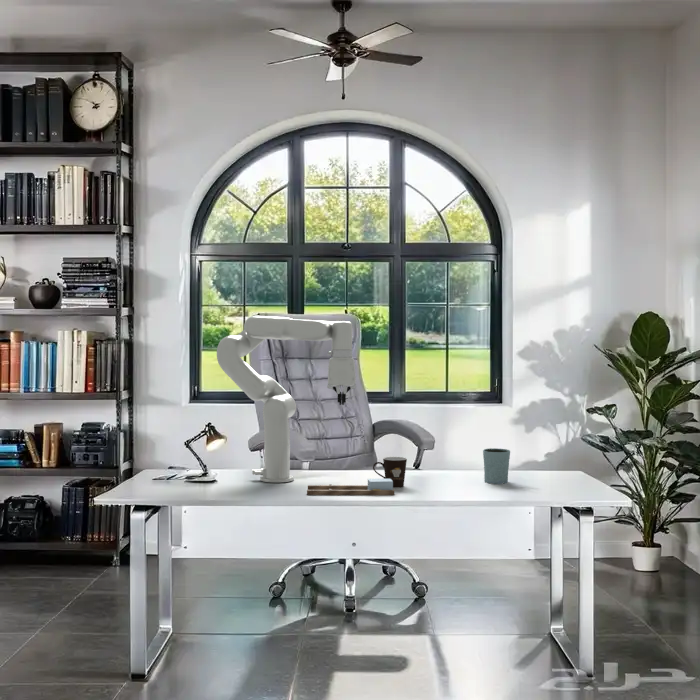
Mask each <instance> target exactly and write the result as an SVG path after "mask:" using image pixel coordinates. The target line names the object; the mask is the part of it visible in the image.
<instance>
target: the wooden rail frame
mask: <svg viewBox="0 0 700 700" xmlns="http://www.w3.org/2000/svg"><path fill="white" fill-rule="evenodd" d="M306 495H308V496H395V489H393V490H380V489H373V490H368V484H365V485H364V484H361V485H360V484H357V485H356V484H355V485H354V484H351V485H350V484H349V485H348V484H347V485H346V484H342V485H341V484H333V485H332V484H328V485H327V484H307V489H306Z"/></svg>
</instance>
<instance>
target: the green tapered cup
mask: <svg viewBox="0 0 700 700" xmlns="http://www.w3.org/2000/svg"><path fill="white" fill-rule="evenodd" d="M482 456H483V466H484V467H483V469H484V471H483V472H484V475H483V476H484V477H483V479H484V483H486V482H487V483H486V484H490V483H493V484H492V485H503V484H502V483H505V484H508V483H507V482H508V481H509V466H510V459H511V457H510V456H511V450H510V449H506V448H491V447H490V448H484V449H483V450H482Z"/></svg>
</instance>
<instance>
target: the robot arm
mask: <svg viewBox="0 0 700 700" xmlns="http://www.w3.org/2000/svg"><path fill="white" fill-rule="evenodd" d="M265 340H281V341H291V340H292V341H293V340H296V341H309V342H322V341H323V342H325V341H331V350H329V351H327V356H331V358H329V360H328V368H327V386H326V388H327V389H330V390H333V391H334V392H335V393H337V403H339V406H341V405H342V406H344V405H345V403H346V401H347V398H346V397H347V395H346V394H348V392H349V391H351V390H353V389H357V384H356V382H357V381H356V377H357V375H356V361H355V358H353V324H352V322H351V321H348V320H347V321H345V320H342V321H341V320H340V321H339V320H336V321H330V320H322V319H321V320H320V319H318V320H314V319H313V320H312V319H297V318H294V319H293V318H290V317H285V316H267V315H266V316H265V315H252V316H249V317H248V318H247V319H246V320H245V322H244V325H243V330H242V331H241V332H239V333H238V334H237V335H236V334H235V335H234V334H231V335H227V336H225V337H222V339H221V340H220V341H219V342H218V345H217V348H216V360H217V362H218V365H219V367H220V369H221V370H222V371H223V372H224V374H225V375H227V376H228V377H229V378H230V379H231V380H232V381H233V382H234V384H236V386H237V387H238V388H239V389H240V390H241V391H242V392H244V394H245V395H246V396H247V397H248V398H249V399H250V400H252V401H254V402H259V401H261V402H262V403H263V404H264V405H263V407H262V418H263V425H264V428H263V429H264V432H263V433H264V437H263V438H264V441H263V442H264V452H263V453H264V459H263V461H264V464H263V465H264V467H263V468H260V469H255V468H254V469H253V468H252V472H251V473H252V475H253V476H254V475H255V476H259V475H260V477H259V481H260V482H264V483H276V484H277V483H288V482H293V481H294V480H295V477H294V476H293V475H291V461H290V460H291V459H290V458H291V438H290V437H291V431H290V430H291V429H290V428H291V427H290V421H289V418H292V417H293V416H294V415H295V413H296V412H297V403H296V400H295V399H294V397H293V396H292V395H291V394H290V393H289V392H288V391H287V390H286V389H285V388H284V387H283V386H281V384H280V383H279V382H277V380H275V378H273V377H271V376H269V375H266V374H262V375H261V374H259V373H258V372H257V371H255V369H254V368H253V367H252V366H250V364H249V363H248V362H246V360H245V361H244V359H243V358H242V357H245V356H248V355H249V354H250V353H252V351H254V350H255V349H256V348H257V347H258V346H259V345H260V344H262V343H263V342H264V341H265ZM342 386H343V391H342V392H341V389H340V387H342Z"/></svg>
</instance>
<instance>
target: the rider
mask: <svg viewBox="0 0 700 700" xmlns="http://www.w3.org/2000/svg"><path fill="white" fill-rule="evenodd" d="M367 485H368V490H373V489H380V490H394V487H393V481H392V480H391V479H384V478H367Z"/></svg>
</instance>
